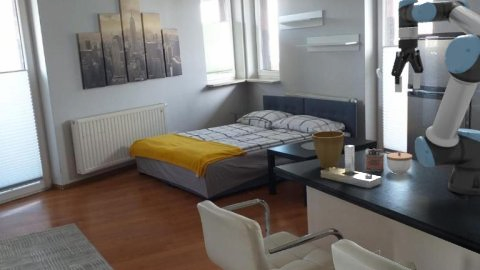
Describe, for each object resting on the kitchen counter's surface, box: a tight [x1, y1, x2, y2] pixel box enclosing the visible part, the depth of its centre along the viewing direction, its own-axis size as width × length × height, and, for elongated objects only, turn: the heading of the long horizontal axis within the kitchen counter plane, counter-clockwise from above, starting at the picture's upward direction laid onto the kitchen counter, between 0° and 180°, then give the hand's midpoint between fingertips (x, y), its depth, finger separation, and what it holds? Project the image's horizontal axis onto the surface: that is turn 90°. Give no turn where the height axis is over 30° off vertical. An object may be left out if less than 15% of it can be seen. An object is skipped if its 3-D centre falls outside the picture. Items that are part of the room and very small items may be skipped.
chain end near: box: [338, 172, 382, 189], centre depth 202 cm, size 16×8×4 cm, turn 39°
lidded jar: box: [386, 151, 413, 175], centre depth 213 cm, size 11×11×9 cm
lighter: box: [365, 148, 385, 172], centre depth 218 cm, size 8×3×10 cm, turn 62°
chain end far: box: [320, 166, 362, 182], centre depth 210 cm, size 16×8×4 cm, turn 39°
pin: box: [344, 144, 356, 176], centre depth 205 cm, size 4×4×15 cm
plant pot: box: [311, 130, 345, 169], centre depth 228 cm, size 15×15×16 cm
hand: (407, 90), depth 202 cm, fingers open, 13 cm apart
